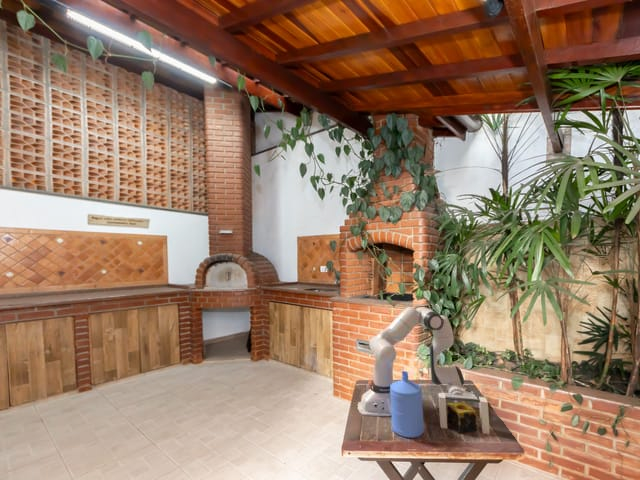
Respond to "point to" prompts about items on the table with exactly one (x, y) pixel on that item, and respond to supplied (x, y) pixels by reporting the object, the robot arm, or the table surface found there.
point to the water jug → (406, 407)
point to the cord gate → (482, 400)
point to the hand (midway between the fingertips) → (460, 407)
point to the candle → (461, 417)
